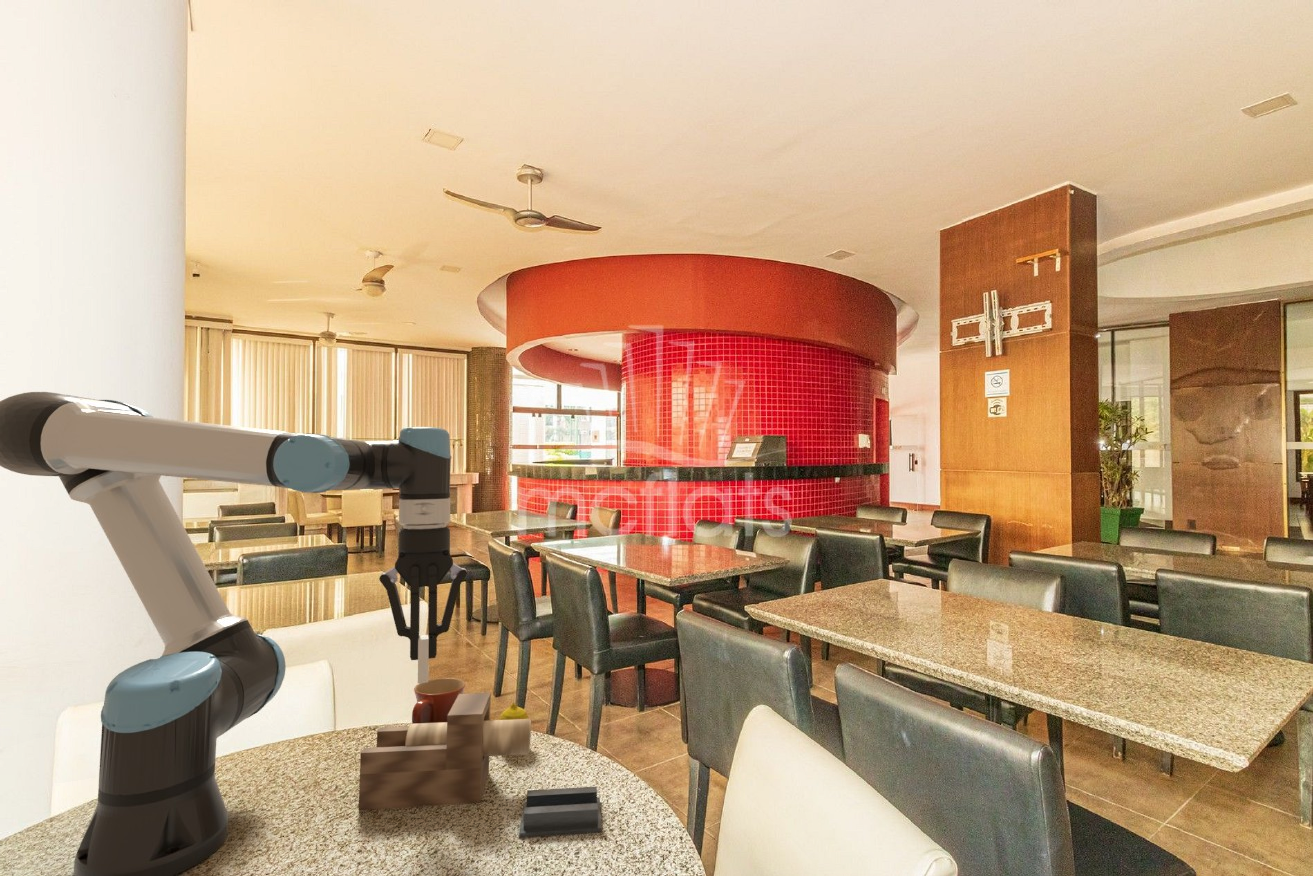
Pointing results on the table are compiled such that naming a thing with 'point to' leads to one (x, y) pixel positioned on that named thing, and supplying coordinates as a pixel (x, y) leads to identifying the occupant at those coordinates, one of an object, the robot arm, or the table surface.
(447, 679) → the mug
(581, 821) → the cradle
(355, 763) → the table surface
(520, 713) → the fruit
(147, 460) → the robot arm
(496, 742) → the axle
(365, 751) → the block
